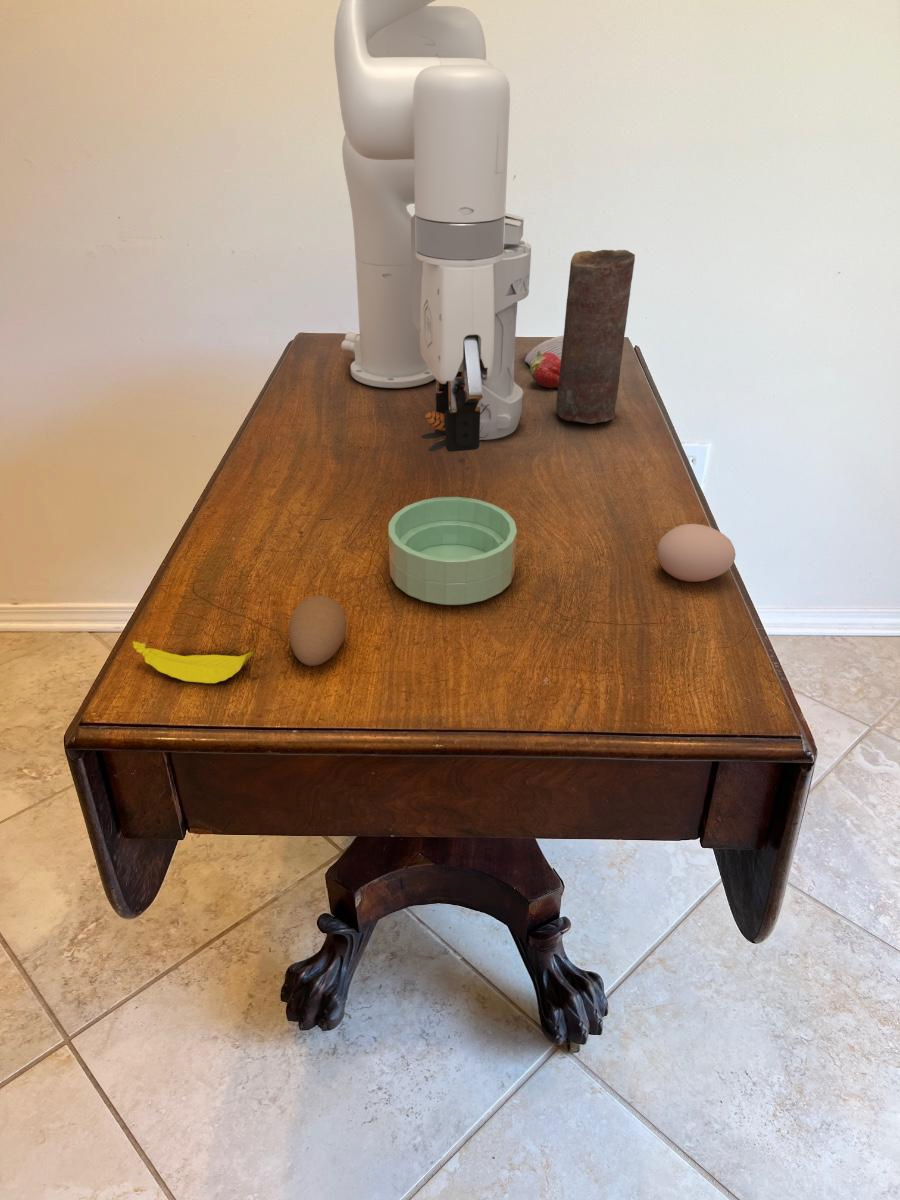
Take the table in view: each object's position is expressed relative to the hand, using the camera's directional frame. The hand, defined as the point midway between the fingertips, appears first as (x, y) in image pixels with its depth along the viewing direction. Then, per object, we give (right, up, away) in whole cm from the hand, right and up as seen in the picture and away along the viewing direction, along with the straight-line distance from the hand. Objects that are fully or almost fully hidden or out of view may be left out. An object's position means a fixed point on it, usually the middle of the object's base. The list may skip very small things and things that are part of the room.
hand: (457, 438), depth 81 cm
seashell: (+16, +19, +41) cm, 48 cm away
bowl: (0, -13, -5) cm, 14 cm away
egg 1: (-11, -15, -14) cm, 23 cm away
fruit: (+13, +14, +34) cm, 39 cm away
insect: (0, +4, -3) cm, 5 cm away
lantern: (+2, +6, +23) cm, 24 cm away
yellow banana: (-21, -18, -15) cm, 32 cm away
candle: (+16, +7, +24) cm, 30 cm away
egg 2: (+18, -11, -6) cm, 22 cm away
